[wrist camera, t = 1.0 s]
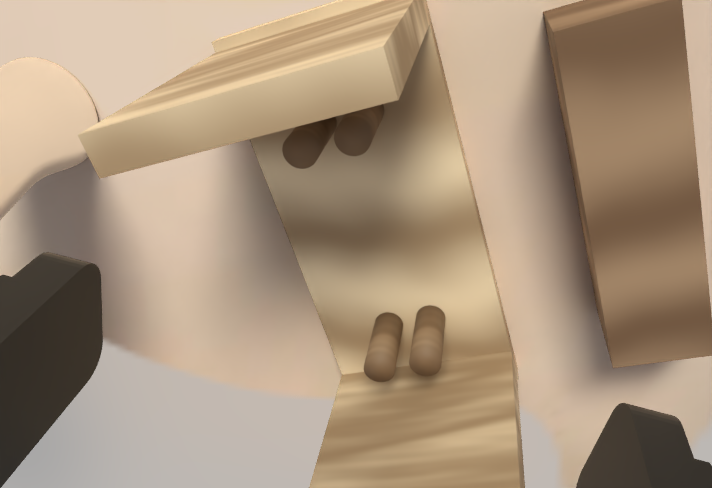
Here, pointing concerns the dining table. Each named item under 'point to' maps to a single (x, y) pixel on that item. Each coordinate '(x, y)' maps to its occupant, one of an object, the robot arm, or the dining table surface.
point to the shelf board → (635, 173)
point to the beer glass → (39, 124)
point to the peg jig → (361, 230)
